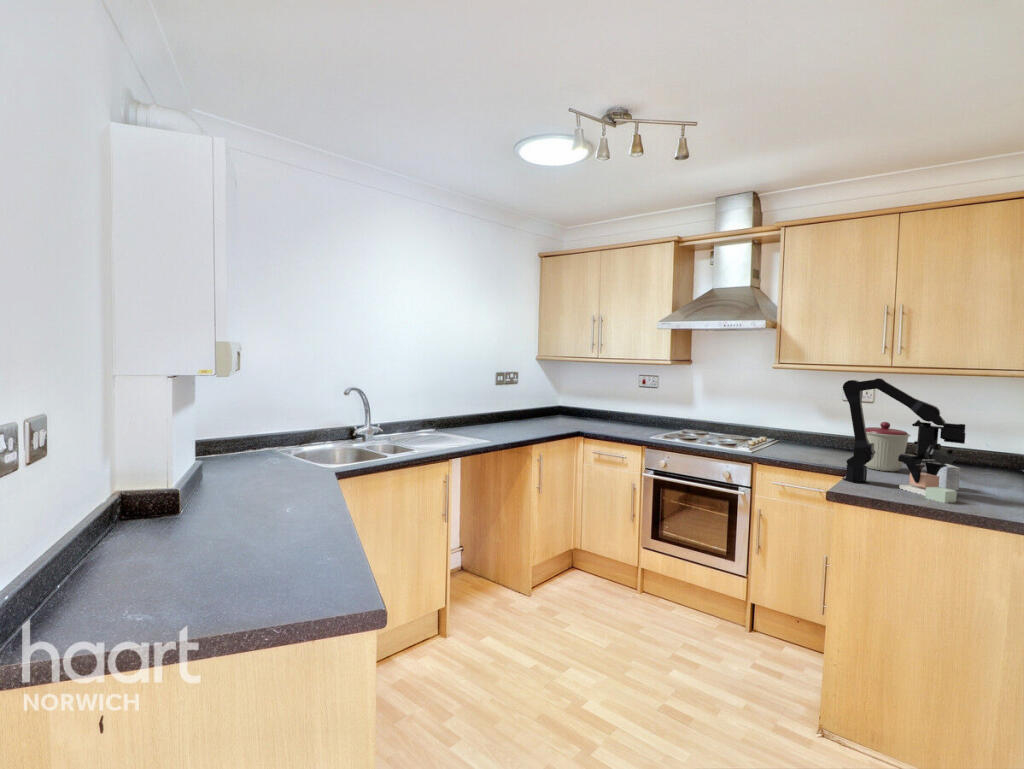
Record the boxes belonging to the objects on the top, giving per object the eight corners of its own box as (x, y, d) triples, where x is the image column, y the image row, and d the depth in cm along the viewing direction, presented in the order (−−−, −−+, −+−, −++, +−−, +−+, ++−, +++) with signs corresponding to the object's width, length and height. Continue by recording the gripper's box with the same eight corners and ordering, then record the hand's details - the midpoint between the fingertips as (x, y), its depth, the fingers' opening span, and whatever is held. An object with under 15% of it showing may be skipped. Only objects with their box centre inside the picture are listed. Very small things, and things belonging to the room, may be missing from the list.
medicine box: (959, 491, 195) (961, 468, 195) (945, 489, 196) (947, 467, 196) (946, 486, 203) (948, 463, 202) (932, 485, 204) (934, 462, 203)
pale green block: (944, 503, 176) (945, 491, 176) (925, 498, 182) (926, 487, 181) (955, 502, 178) (956, 490, 178) (936, 497, 184) (937, 486, 183)
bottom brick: (909, 483, 193) (909, 472, 193) (922, 483, 194) (923, 472, 194) (925, 487, 187) (926, 476, 187) (938, 487, 188) (939, 476, 188)
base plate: (925, 496, 185) (926, 491, 185) (899, 488, 194) (899, 484, 194) (948, 495, 187) (948, 491, 187) (920, 488, 197) (920, 484, 197)
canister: (883, 474, 221) (887, 424, 220) (847, 465, 239) (850, 419, 238) (918, 473, 225) (922, 425, 224) (880, 465, 243) (884, 419, 241)
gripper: (929, 443, 180) (925, 488, 181) (971, 443, 184) (967, 487, 185) (898, 438, 191) (895, 480, 191) (939, 438, 195) (935, 480, 196)
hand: (923, 482), depth 191 cm, fingers closed on bottom brick, 6 cm apart
